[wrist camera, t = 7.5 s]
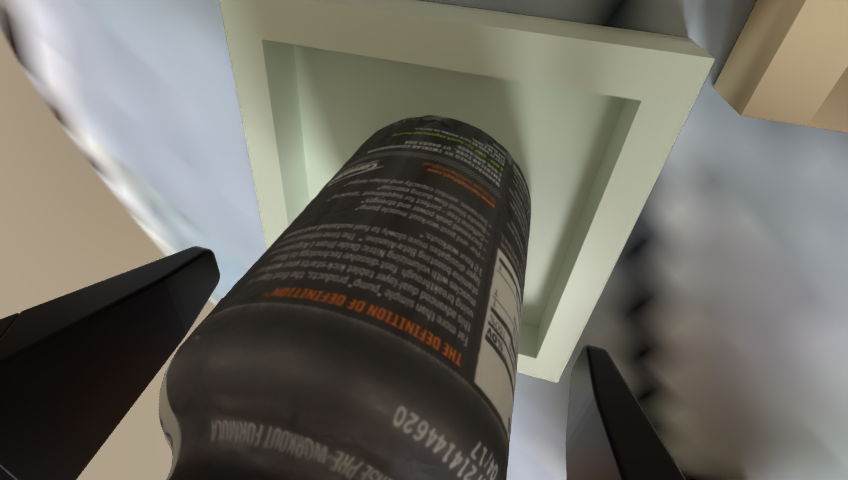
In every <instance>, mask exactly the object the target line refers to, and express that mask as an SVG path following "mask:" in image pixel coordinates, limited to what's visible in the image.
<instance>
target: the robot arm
mask: <svg viewBox="0 0 848 480" xmlns="http://www.w3.org/2000/svg"><path fill="white" fill-rule="evenodd" d="M219 279H220V272H219V269H218V265H217V262H216V258H215V255H214V253H213V251H212V250H210V249H206V248H202V247H198V246H195V247H191V248H189V249H186V250H183V251H181V252H178V253H175V254H173V255H170V256H167V257H165V258H162V259H159V260H157V261H155V262H151V263H149V264H146V265H144V266H141V267H138V268H135V269H133V270H130V271H127V272H125V273H122V274H120V275H117V276H114V277H112V278H109V279H106V280H104V281H101V282H98V283H96V284H93V285H90V286H88V287H85V288H82V289H80V290H77V291H75V292H72V293H69V294H67V295H64V296H61V297H59V298H56V299H53V300H51V301H48V302H45V303H43V304H40V305H37V306H35V307H32V308H29V309H27V310H24V311H22V312H21V313H20V314H19V313H16V314H13V315H11V316H8V317H5V318H3V319H0V480H76V479H77V478H78V476H79V475H80V474H81V473H82V471H83V470H84V468H85V467H86V466H87V465H88V463H89V462H90V461H91V460H92V458H93V457H94V456H95V454H96V453H97V452H98V450H99V449H100V448H101V446H102V445H103V444H104V443H105V441H106V440H107V439H108V437H109V436H110V435H111V433H112V432H113V431H114V429H115V428H116V427H117V425H118V424H119V423H120V421H121V420H122V419H123V417H124V416H125V415H126V414H127V412H128V411H129V410H130V408H131V407H132V406H133V404H134V403H135V402H136V400H137V399H138V398H139V396H140V395H141V393H142V392H143V391H144V390H145V389H146V387H147V386H148V385H149V383H150V382H151V381H152V379H153V378H154V377H155V375H156V374H157V373H158V371H159V370H160V369H161V367H162V366H163V365H164V364H165V362H166V361H167V360H168V358H169V357H170V356H171V354H172V353H173V352H174V351H175V349H176V348H177V347H178V345H179V344H180V343H181V341H182V340H183V338H184V337H185V336H186V334H187V333H188V331H189V330H190V328H191V327H192V325H193V324H194V322H195V320H196V319H197V317H198V315H199V314H200V312H201V310H202V309H203V307H204V305H205V304H206V302H207V301H208V299H209V297H210V296H211V294H212V293H213V291H214V289H215V288H216V286H217V284H218V282H219ZM566 472H567V480H691V479H688V478H685V477H684V475H683V474H682V472H681V471H680V469H679V467H678V466H677V464H676V463H675V461H674V459H673V458H672V456H671V454H670V453H669V451H668V450H667V448H666V446H665V445H664V443H663V442H662V440H661V438H660V437H659V435H658V433H657V432H656V430H655V429H654V427H653V425H652V424H651V422H650V420H649V419H648V417H647V416H646V414H645V412H644V411H643V409H642V408H641V406H640V404H639V403H638V401H637V399H636V398H635V396H634V395H633V393H632V391H631V390H630V388H629V386H628V385H627V383H626V382H625V380H624V378H623V377H622V375H621V374H620V372H619V370H618V369H617V367H616V365H615V364H614V362H613V361H612V359H611V357H610V356H609V354H608V353H607V351H606V350H604V349H602V348H598V347H594V346H590V345H586V346H585V347H584V348H583V349H582V351H581V353H580V355H579V357H578V359H577V361H576V363H575V365H574V367H573V370H572V374H571V383H570V396H569V408H568V420H567V433H566Z"/></svg>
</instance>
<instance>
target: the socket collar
mask: <svg viewBox="0 0 848 480" xmlns="http://www.w3.org/2000/svg"><path fill="white" fill-rule="evenodd" d="M713 88H714V89H715V90H716V91H717V92H718V93H719V94H720V95H721V96H722V97H723V98H724V99H725V100H726V101H727V102H728V103H729V104H730V105H731V106H732V107H733V108H734V109H735V110H736V111H737V112H738V113H739V114H740V115H741V116H747V117H753V118H759V119H766V120H772V121H778V122H784V123H790V124H796V125H803V126H809V127H815V128H821V129H827V130H834V131H840V132H846V133H848V0H757V2H756V4H755V5H754V7H753V9H752V11H751V13H750V15H749V17H748V19H747V21H746V23H745V25H744V27H743V29H742V31H741V33H740V35H739V37H738V39H737V41H736V43H735V45H734V47H733V49H732V51H731V53H730V55H729V57H728V59H727V61H726V63H725V65H724V67H723V69H722V71H721V73H720V75H719V77H718V79H717V81H716V83H715V85H714V87H713Z"/></svg>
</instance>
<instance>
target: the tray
mask: <svg viewBox="0 0 848 480" xmlns="http://www.w3.org/2000/svg"><path fill="white" fill-rule="evenodd" d="M219 1H220V7H221V12H222V17H223V22H224V28H225V33H226V38H227V43H228V49H229V54H230V59H231V64H232V70H233V75H234V80H235V85H236V91H237V96H238V101H239V106H240V112H241V117H242V122H243V127H244V133H245V138H246V143H247V148H248V154H249V159H250V164H251V169H252V175H253V180H254V185H255V190H256V196H257V201H258V206H259V211H260V217H261V222H262V227H263V232H264V238H265V243H266V248H267V249H268V248H269V247H270V246H271V245H272V244H273V243H274V242H275V241H276V239H277V238H278V237H279V236H280V235H281V234H282V233H283V232H284V230H285V229H286V228H287V227H288V226H289V225H290V224H291V223H292V222H293V221H294V220H295V219H296V218H297V217H298V215H299V214H300V213H301V212H302V211H303V210H304V209H305V207H306V206H307V205H308V204H309V203H310V202H311V200H313V199H314V198H315V197H316V196H317V195H318V193H319V192H320V191H321V189H322V188H323V187H324V186H325V185H326V184H327V182H329V181H330V180H331V179H332V178H333V176H334V175H335V174H336V173H337V172H338V171H339V170H340V169H341V168H342V166H343V165H344V164H345V163H346V162H347V161H348V160H349V159H350V158H351V157H352V156H353V154H354V153H355V152H356V151H357V150H358V149H359V147H360V146H361V145H362V144H363V143H364V142H365V141H366V140H367V139H368V138H370V137H371V136H372V135H373V134H374V133H375V132H376V131H378V130H380V129H382V128H383V127H385V126H388V125H390V124H392V123H395V122H397V121H400V120H402V119H407V118H413V117H422V116H427V115H433V116H440V117H446V118H452V119H456V120H459V121H462V122H464V123H467V124H470V125H472V126H474V127H476V128H479V129H481V130H482V131H484V132H485V133H487V134H488V135H490V136H491V137H493V138H494V139H495V140H496V141H497V142H498V143H499V144H501V145H502V146H503V147H504V148H505V149H506V150H507V151H508V152H509V153H510V154H511V156H512V157H513V159H514V160H515V161H516V163H517V164H518V166H519V167H520V169H521V171H522V173H523V175H524V178H525V180H526V182H527V185H528V189H529V193H530V198H531V223H530V234H529V243H528V253H527V265H526V272H525V286H524V295H523V304H522V319H521V327H520V340H519V352H518V361H517V372H518V373H522V374H526V375H529V376H533V377H537V378H541V379H544V380H548V381H552V382H555V383H558V381H559V379H560V377H561V375H562V373H563V371H564V369H565V367H566V365H567V363H568V361H569V359H570V356H571V354H572V352H573V350H574V348H575V346H576V344H577V342H578V340H579V338H580V336H581V334H582V332H583V330H584V328H585V326H586V324H587V322H588V320H589V317H590V315H591V313H592V311H593V309H594V307H595V305H596V303H597V301H598V299H599V297H600V295H601V293H602V291H603V289H604V287H605V285H606V283H607V281H608V278H609V276H610V274H611V272H612V270H613V268H614V266H615V264H616V262H617V260H618V258H619V256H620V254H621V252H622V250H623V248H624V246H625V244H626V241H627V239H628V237H629V235H630V233H631V231H632V229H633V227H634V225H635V223H636V221H637V219H638V217H639V215H640V213H641V211H642V209H643V207H644V205H645V202H646V200H647V198H648V196H649V194H650V192H651V190H652V188H653V186H654V184H655V182H656V180H657V178H658V176H659V174H660V172H661V170H662V168H663V165H664V163H665V161H666V159H667V157H668V155H669V153H670V151H671V149H672V147H673V145H674V143H675V141H676V139H677V137H678V135H679V133H680V131H681V129H682V126H683V124H684V122H685V120H686V118H687V116H688V114H689V112H690V110H691V108H692V106H693V104H694V102H695V100H696V98H697V96H698V94H699V92H700V90H701V87H702V85H703V83H704V81H705V79H706V77H707V75H708V73H709V71H710V69H711V67H712V65H713V63H714V61H715V58H714V57H713V56H712V55H710V54H709V53H708V52H706V51H705V50H704V49H703V48H701V47H700V46H699V45H698V44H696V43H695V42H694V41H693V40H691V39H690V38H687V37H680V36H672V35H665V34H658V33H651V32H643V31H636V30H629V29H622V28H614V27H607V26H600V25H593V24H585V23H578V22H571V21H563V20H556V19H549V18H542V17H534V16H527V15H520V14H513V13H505V12H498V11H491V10H484V9H476V8H469V7H462V6H455V5H447V4H440V3H433V2H426V1H418V0H219Z"/></svg>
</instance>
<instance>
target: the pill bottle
mask: <svg viewBox="0 0 848 480" xmlns="http://www.w3.org/2000/svg"><path fill="white" fill-rule="evenodd" d="M530 223H531V198H530V193H529V189H528V185H527V182H526V180H525V178H524V175H523V173H522V171H521V169H520V167H519V166H518V164H517V163H516V161H515V160H514V159H513V157H512V156H511V154H510V153H509V152H508V151H507V150H506V149H505V148H504V147H503V146H502V145H501V144H499V143H498V142H497V141H496V140H495V139H494V138H493V137H491V136H490V135H488V134H487V133H485V132H484V131H482V130H481V129H479V128H476V127H474V126H472V125H470V124H467V123H464V122H462V121H459V120H456V119H452V118H446V117H440V116H433V115H427V116H422V117H413V118H407V119H402V120H400V121H397V122H395V123H392V124H390V125H388V126H385V127H383V128H382V129H380V130H378V131H376V132H375V133H374V134H373V135H372V136H371V137H370V138H368V139H367V140H366V141H365V142H364V143H363V144H362V145H361V146H360V147H359V149H358V150H357V151H356V152H355V153H354V154H353V156H352V157H351V158H350V159H349V160H348V161H347V162H346V163H345V164H344V165H343V166H342V168H341V169H340V170H339V171H338V172H337V173H336V174H335V175H334V176H333V178H332V179H331V180H330V181H329V182H327V184H326V185H325V186H324V187H323V188H322V189H321V191H320V192H319V193H318V195H317V196H316V197H315V198H314V199H313V200H311V202H310V203H309V204H308V205H307V206H306V207H305V209H304V210H303V211H302V212H301V213H300V214H299V215H298V217H297V218H296V219H295V220H294V221H293V222H292V223H291V224H290V225H289V226H288V227H287V228H286V229H285V230H284V232H283V233H282V234H281V235H280V236H279V237H278V238H277V239H276V241H275V242H274V243H273V244H272V245H271V246H270V247H269V248H268V249H267V251H266V252H265V253H264V254H263V255H262V256H261V257H260V259H259V260H258V261H257V262H256V263H255V264H254V265H253V266H252V267H251V268H250V269H249V270H248V272H247V273H246V274H245V275H244V276H243V277H242V278H241V279H240V280H239V281H238V282H237V283H236V284H235V285H234V286H233V287H232V289H231V290H230V291H229V292H228V293H227V295H226V296H225V297H224V298H222V299H221V300H220V301H219V303H218V304H217V305H216V307H215V308H214V309H213V310H212V311H211V313H210V314H209V315H208V316H207V317H206V318H205V319H204V320H203V321H202V322H201V323H200V324H199V326H198V327H197V328H196V329H195V330H194V331H193V332H192V334H191V335H190V336H189V337H188V338H187V340H186V341H185V342H184V343H183V344H182V345H181V346H180V347H179V349H178V350H177V352H176V354H175V355H174V357H173V358H172V360H171V362H170V364H169V366H168V368H167V370H166V372H165V374H164V378H163V382H162V385H161V389H160V397H159V398H160V399H159V418H160V423H161V427H162V429H163V432H164V435H165V438H166V440H167V442H168V444H169V446H170V448H171V449H172V455H173V459H172V467H171V470H170V473H169V475H168V478H167V479H166V480H506V476H507V466H508V456H509V441H510V433H511V421H512V412H513V401H514V391H515V381H516V372H517V361H518V352H519V340H520V327H521V319H522V304H523V295H524V286H525V272H526V265H527V253H528V243H529V234H530Z"/></svg>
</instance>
